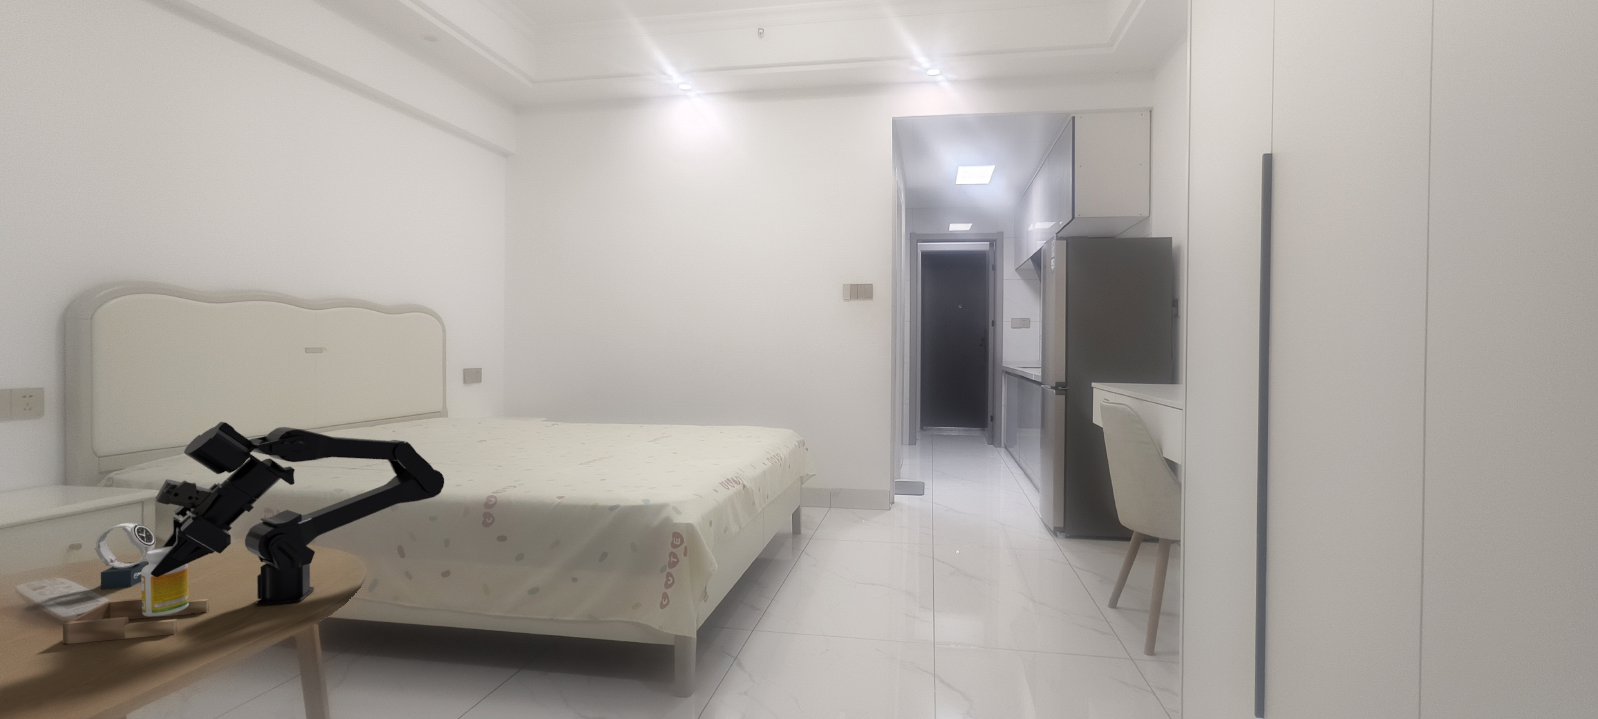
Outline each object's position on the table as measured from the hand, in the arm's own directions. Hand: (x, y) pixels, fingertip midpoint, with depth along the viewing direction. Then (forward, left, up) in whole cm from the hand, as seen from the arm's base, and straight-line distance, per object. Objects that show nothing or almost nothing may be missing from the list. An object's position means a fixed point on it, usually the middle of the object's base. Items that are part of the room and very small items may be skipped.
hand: (152, 571), depth 106 cm
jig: (+1, -1, -9) cm, 9 cm away
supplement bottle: (-1, -1, -7) cm, 7 cm away
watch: (+18, -26, -9) cm, 33 cm away
